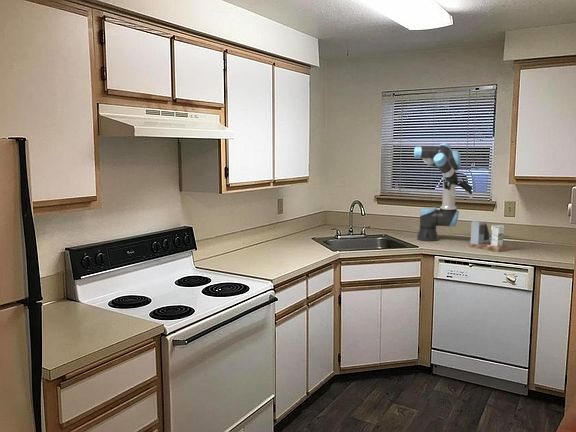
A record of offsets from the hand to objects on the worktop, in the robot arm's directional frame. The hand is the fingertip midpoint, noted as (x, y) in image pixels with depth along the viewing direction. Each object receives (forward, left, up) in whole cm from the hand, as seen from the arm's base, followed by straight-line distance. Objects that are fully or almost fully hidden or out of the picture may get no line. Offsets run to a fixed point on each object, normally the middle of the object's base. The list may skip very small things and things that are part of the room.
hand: (463, 196), depth 331 cm
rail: (+7, +18, -35) cm, 40 cm away
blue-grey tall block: (-1, +18, -33) cm, 38 cm away
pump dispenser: (-6, +30, -36) cm, 47 cm away
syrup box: (+14, +18, -34) cm, 41 cm away
